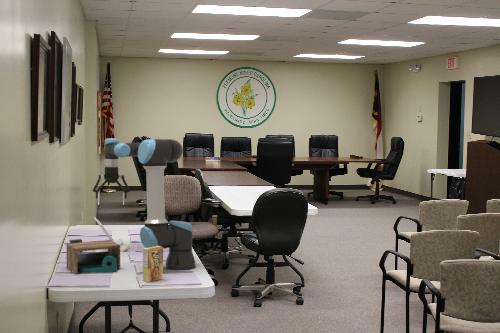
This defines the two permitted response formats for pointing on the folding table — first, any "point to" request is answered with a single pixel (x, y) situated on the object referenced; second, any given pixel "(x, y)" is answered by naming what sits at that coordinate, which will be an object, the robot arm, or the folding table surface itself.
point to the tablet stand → (120, 242)
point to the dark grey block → (89, 256)
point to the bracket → (102, 266)
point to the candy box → (152, 263)
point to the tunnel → (86, 246)
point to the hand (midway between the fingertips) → (111, 204)
